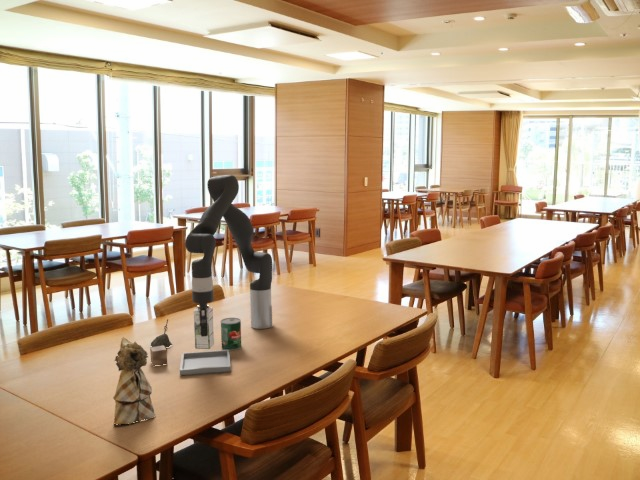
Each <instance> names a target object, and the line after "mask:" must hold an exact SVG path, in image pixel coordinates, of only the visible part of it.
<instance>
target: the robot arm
mask: <svg viewBox="0 0 640 480" xmlns="http://www.w3.org/2000/svg"><path fill="white" fill-rule="evenodd" d="M206 185H207V190H208V194H209V196H210V198H211V200H212V202H213V203H211V204H210V205H209V206H208V207H206V209H205V210H204V211H203V213H202V214H201V217H200V219H199V221H198V223H197V225H196V226H195V227H194V228H192V229H191V230H190V232H189V233H188V235H187V236H186V238H185V241H184V242H185V243H184V247H185V249H186V251H187V252H189V253H190V254H203V257H202V258H198V259H195V260H193V261H192V262H191V298H192V303H194V304H199V305H197V307H198V311H199V313H200V314H199V320H200V327H201V336H202V337H203V336H207V325H208V323H207V319H208V318H207V310H209V307H210V305H209V304H208V303H212V302H213V301H214V298H215V297H214V282H213V281H214V279H213V269H212V266H213V265H212V264H213V258H214V253H215V250H216V245H217V241H216V238H215V236H214V235H216V233H217V232H218V231H217V230H218V228H219V226H220V223H221V222H222V219H224V221H225V223H226V225H227V227H228V230H229V231H230V232H229V233H230V234H231V236H232V238H233V239H234V242H235V244H236V246H237V247H238V250H239V253H240V255H241V258H242V262H243V264H244V266H245V268H246V270H247V271H248V272H250V273H253V274H259V276H258V279H254V280H252V281H250V282H249V297H250V302H249V303H250V304H249V305H250V327H251V328H252V329H255V330H258V329H259V330H261V329H269V328H273V306H272V282H273V257H272V255H271V254H270V253H268V252H260V251H259V252H258V251H255V250H254V248H253V246H252V240H253V238H254V226H253V224H252V222H251V220H250V218H249V216H248V215H247V214H246V213H245V212H244V211H243V210H241V209H239V208H238V207H237V206H235V205H234V204H233V202H234V200H235V199H236V197H237V195H238V193H239V189H240V188H239V186H240V185H239V181H238V179H237V177H236V176H235V175H234V174H223V175H217V176H212V177H210V178H208V180H207V184H206ZM202 320H206V323H202Z"/></svg>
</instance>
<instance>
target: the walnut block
mask: <svg viewBox="0 0 640 480" xmlns="http://www.w3.org/2000/svg"><path fill="white" fill-rule="evenodd" d="M149 349H150V351H149V352H150V363H151V362H152V364H153V365H152V364H151V365H152V367H153V366H155V365H163V364H167V365H168V353H167V350H168V349H166V348H165V346H164V345H163V346H157V347H150V348H149Z"/></svg>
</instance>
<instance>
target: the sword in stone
mask: <svg viewBox="0 0 640 480" xmlns="http://www.w3.org/2000/svg"><path fill="white" fill-rule="evenodd" d="M166 319H167V318H166ZM168 323H169V319H167V320H166V324H165V326H163V327H164V328H163V332H164V333H163V334H160V335H158V336H156V337H155V338H154V339H153V340H152V341H151V342H150V346H152V347H157V346H163V345H164V346H165V348H166V347H169V346H170V345H173V344H172V342H171V340H170V338H169V335H168V334H167V331H168Z"/></svg>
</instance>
